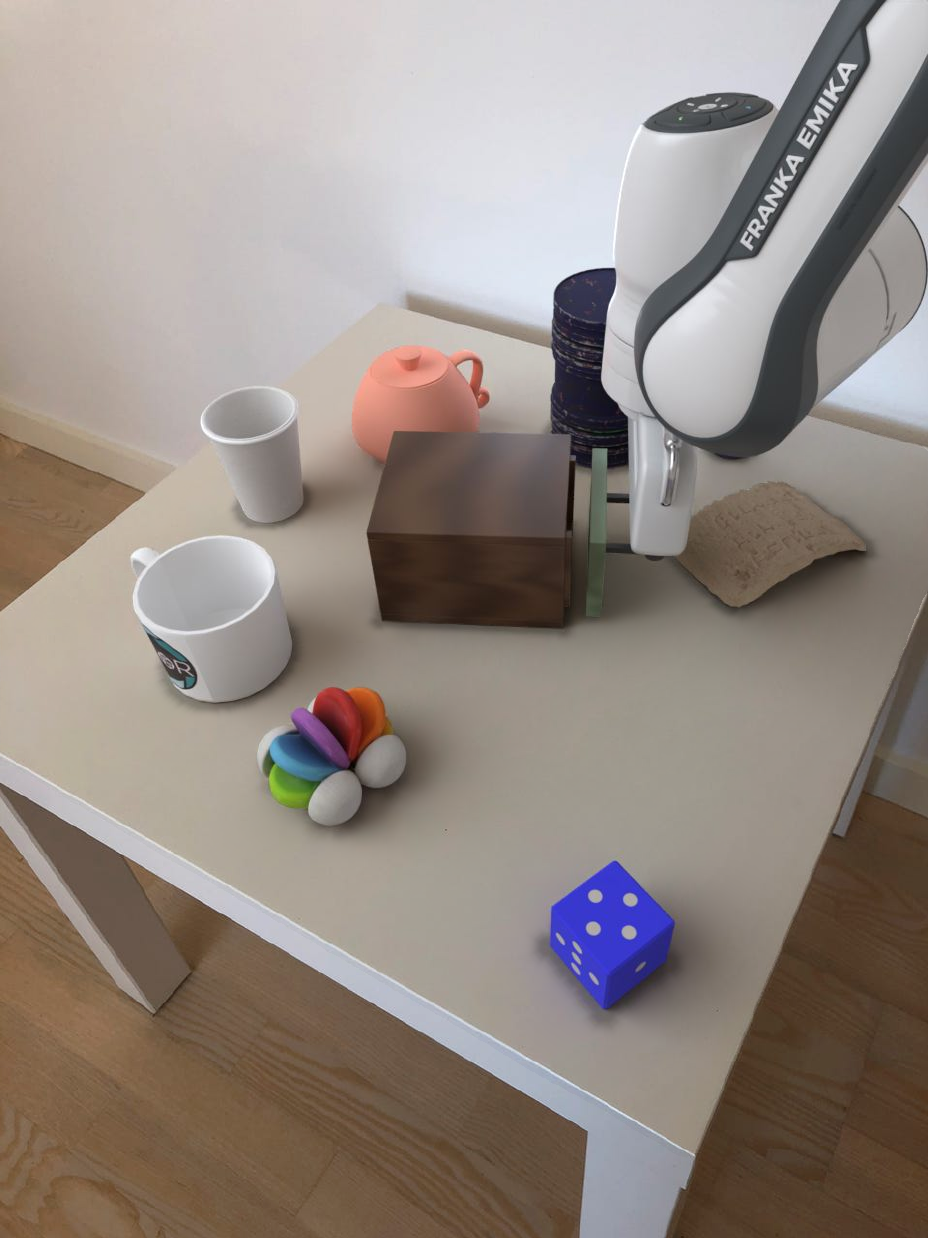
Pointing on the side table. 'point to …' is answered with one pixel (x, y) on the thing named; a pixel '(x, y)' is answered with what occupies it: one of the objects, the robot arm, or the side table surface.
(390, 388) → the sugar bowl
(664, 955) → the die
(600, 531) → the drawer
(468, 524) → the cabinet
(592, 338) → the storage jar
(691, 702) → the side table surface
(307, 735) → the rainbow petal toy
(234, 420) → the dixie cup
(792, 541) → the clay tablet
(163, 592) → the mug
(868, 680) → the side table surface
